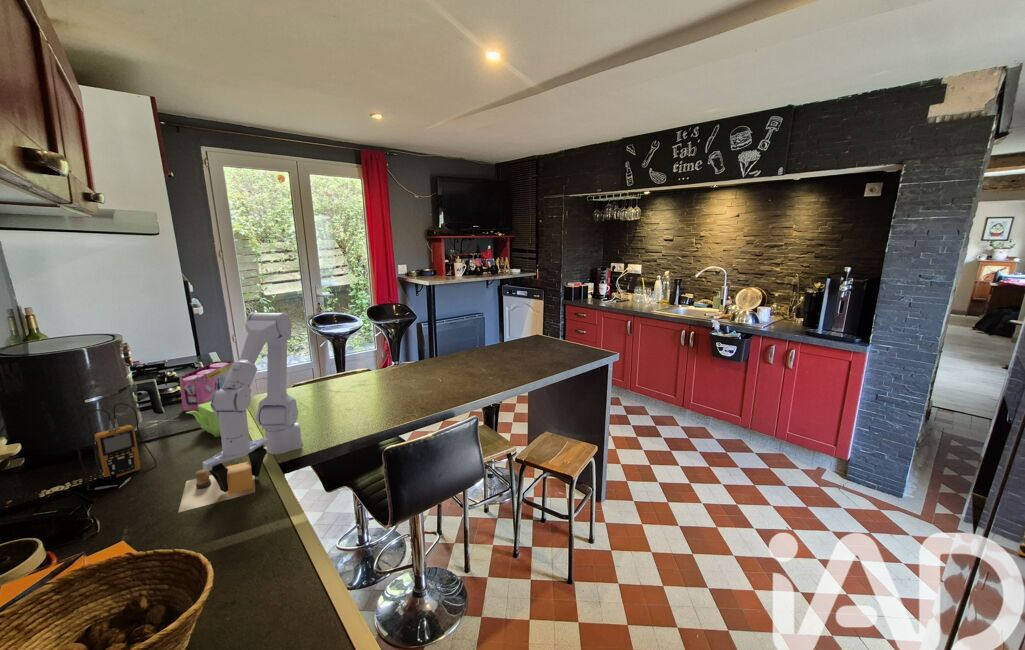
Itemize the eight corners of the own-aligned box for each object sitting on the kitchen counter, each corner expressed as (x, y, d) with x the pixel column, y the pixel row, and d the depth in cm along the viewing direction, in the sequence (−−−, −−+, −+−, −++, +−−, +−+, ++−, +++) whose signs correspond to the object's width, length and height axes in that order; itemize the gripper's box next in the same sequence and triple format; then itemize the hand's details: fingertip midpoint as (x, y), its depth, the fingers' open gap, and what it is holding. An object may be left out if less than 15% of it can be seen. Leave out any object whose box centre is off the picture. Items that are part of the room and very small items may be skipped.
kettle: (238, 438, 130) (234, 406, 128) (187, 443, 126) (183, 410, 124) (255, 419, 144) (251, 390, 142) (210, 423, 140) (206, 393, 138)
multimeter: (93, 498, 98) (79, 423, 94) (82, 485, 103) (68, 413, 99) (168, 471, 110) (158, 404, 106) (154, 461, 115) (144, 396, 112)
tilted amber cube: (252, 478, 105) (250, 461, 104) (252, 487, 101) (251, 470, 100) (228, 484, 102) (226, 466, 101) (228, 494, 98) (226, 476, 97)
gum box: (202, 412, 150) (197, 378, 147) (179, 412, 149) (174, 378, 146) (238, 390, 173) (234, 360, 171) (218, 390, 172) (215, 360, 170)
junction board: (254, 469, 112) (252, 452, 111) (255, 497, 100) (253, 477, 98) (187, 486, 104) (184, 467, 103) (179, 518, 91) (175, 497, 90)
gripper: (254, 420, 107) (259, 465, 110) (193, 442, 94) (200, 493, 97) (270, 425, 104) (275, 472, 107) (209, 449, 91) (215, 501, 94)
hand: (240, 482), depth 101 cm, fingers closed on tilted amber cube, 7 cm apart
